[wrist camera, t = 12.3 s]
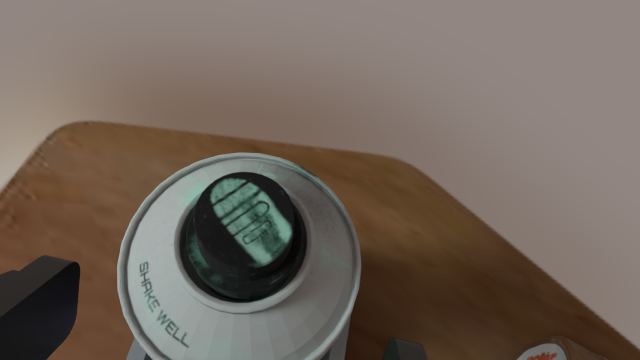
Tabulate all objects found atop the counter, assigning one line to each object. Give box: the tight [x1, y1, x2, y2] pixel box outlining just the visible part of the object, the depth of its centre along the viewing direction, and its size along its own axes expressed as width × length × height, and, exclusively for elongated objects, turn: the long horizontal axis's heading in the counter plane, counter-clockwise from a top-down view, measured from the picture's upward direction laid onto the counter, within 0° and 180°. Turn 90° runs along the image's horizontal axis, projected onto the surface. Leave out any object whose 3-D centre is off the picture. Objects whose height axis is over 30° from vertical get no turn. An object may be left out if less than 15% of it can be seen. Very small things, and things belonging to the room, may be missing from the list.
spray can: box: [117, 153, 361, 360], centre depth 15 cm, size 6×6×20 cm
